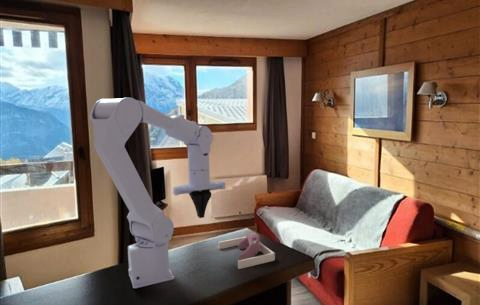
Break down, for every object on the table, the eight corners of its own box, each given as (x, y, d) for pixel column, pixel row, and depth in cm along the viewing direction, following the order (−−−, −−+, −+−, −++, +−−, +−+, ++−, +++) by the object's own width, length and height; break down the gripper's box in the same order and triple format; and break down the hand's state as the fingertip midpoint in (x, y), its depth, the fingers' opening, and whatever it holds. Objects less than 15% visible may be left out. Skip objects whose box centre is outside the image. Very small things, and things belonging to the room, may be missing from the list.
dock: (238, 269, 86) (238, 261, 86) (218, 248, 99) (218, 241, 99) (274, 260, 91) (274, 253, 91) (250, 241, 104) (250, 235, 103)
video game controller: (253, 268, 90) (264, 245, 89) (237, 261, 90) (249, 238, 89) (250, 252, 100) (261, 231, 99) (236, 246, 99) (247, 225, 99)
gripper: (218, 164, 100) (219, 209, 102) (169, 169, 94) (171, 216, 96) (227, 168, 94) (228, 215, 96) (175, 173, 88) (178, 224, 90)
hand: (200, 216), depth 96 cm, fingers closed
